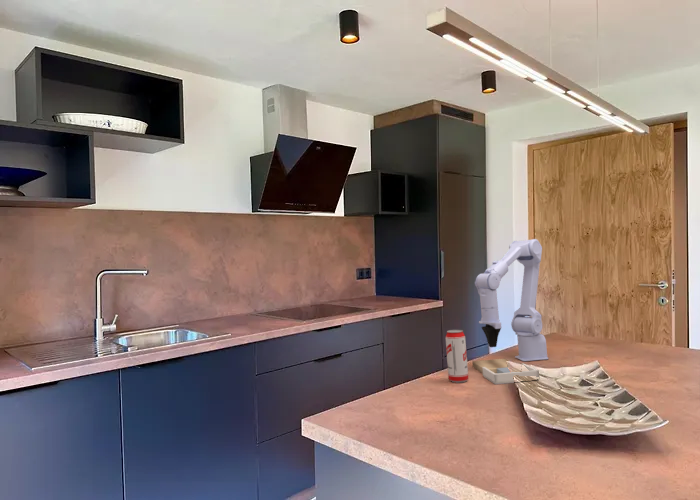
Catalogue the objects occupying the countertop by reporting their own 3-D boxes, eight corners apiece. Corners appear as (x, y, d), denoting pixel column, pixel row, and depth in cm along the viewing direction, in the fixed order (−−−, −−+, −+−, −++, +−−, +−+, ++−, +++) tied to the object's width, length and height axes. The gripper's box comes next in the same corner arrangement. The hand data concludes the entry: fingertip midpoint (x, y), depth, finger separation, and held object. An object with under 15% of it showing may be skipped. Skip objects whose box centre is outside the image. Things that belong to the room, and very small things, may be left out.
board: (505, 364, 175) (505, 358, 175) (521, 372, 161) (521, 366, 161) (472, 367, 174) (472, 361, 174) (486, 376, 160) (485, 369, 160)
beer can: (467, 378, 159) (463, 328, 160) (470, 382, 153) (466, 331, 154) (447, 379, 160) (444, 330, 160) (449, 383, 154) (445, 333, 154)
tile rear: (510, 372, 161) (510, 367, 161) (515, 375, 156) (515, 370, 156) (497, 373, 160) (496, 368, 160) (502, 376, 156) (501, 371, 156)
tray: (524, 372, 161) (523, 363, 161) (539, 380, 150) (538, 370, 150) (483, 376, 160) (482, 367, 160) (495, 384, 149) (494, 374, 149)
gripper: (471, 306, 177) (474, 344, 177) (485, 310, 163) (488, 351, 162) (490, 305, 177) (493, 342, 177) (505, 308, 163) (509, 349, 163)
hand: (492, 346), depth 170 cm, fingers closed
